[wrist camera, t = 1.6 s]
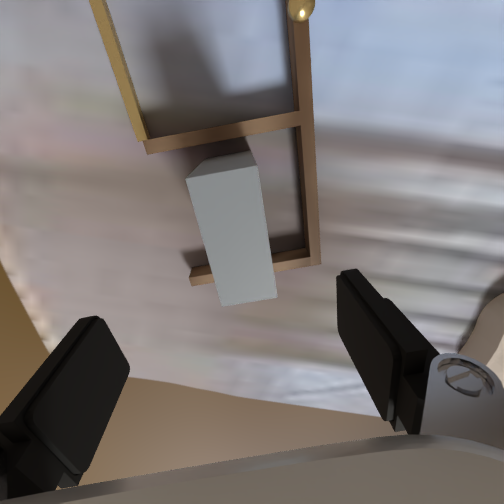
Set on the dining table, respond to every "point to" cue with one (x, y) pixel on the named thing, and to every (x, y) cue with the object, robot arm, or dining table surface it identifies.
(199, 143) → the frame
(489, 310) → the decorative plaque
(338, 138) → the dining table surface
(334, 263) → the dining table surface
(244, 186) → the pale gray rectangular prism
